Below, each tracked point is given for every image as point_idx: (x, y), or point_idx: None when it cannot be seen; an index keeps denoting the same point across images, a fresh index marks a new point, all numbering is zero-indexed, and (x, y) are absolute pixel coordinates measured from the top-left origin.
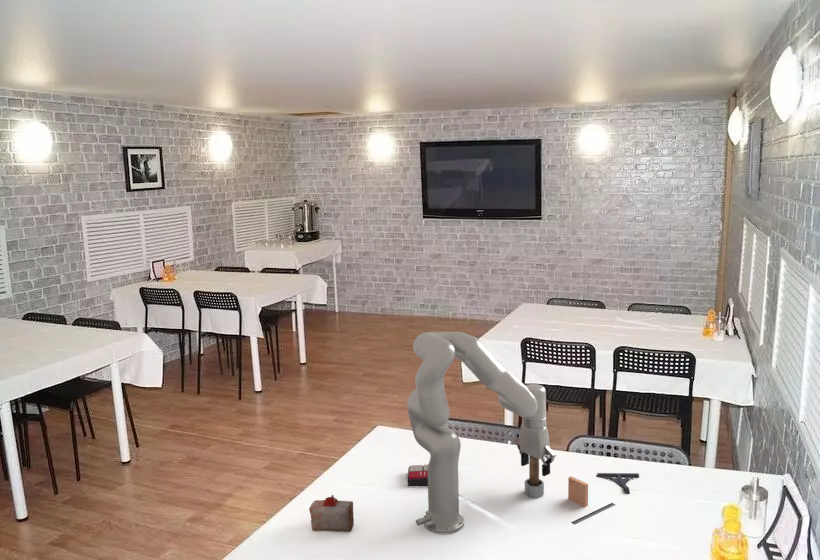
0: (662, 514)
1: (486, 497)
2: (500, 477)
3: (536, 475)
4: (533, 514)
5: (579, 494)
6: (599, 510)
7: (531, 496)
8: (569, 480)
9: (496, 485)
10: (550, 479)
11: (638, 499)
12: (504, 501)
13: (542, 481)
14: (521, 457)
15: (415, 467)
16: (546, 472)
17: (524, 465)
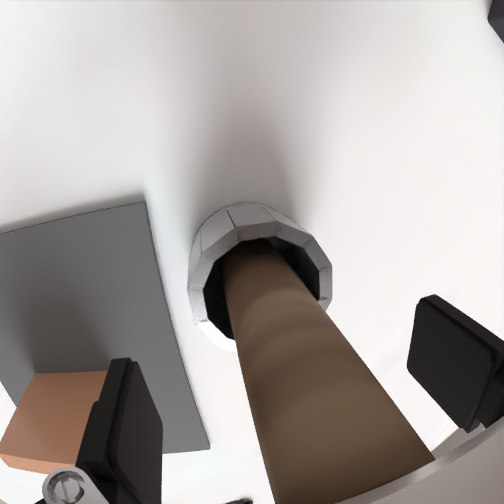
0: (6, 471)
1: (371, 32)
2: (465, 229)
3: (236, 332)
4: (77, 126)
5: (42, 409)
6: (16, 397)
7: (214, 218)
8: None
9: (435, 160)
10: None
11: None
12: (289, 69)
13: None
14: (487, 336)
15: None
16: (94, 406)
17: (414, 320)
